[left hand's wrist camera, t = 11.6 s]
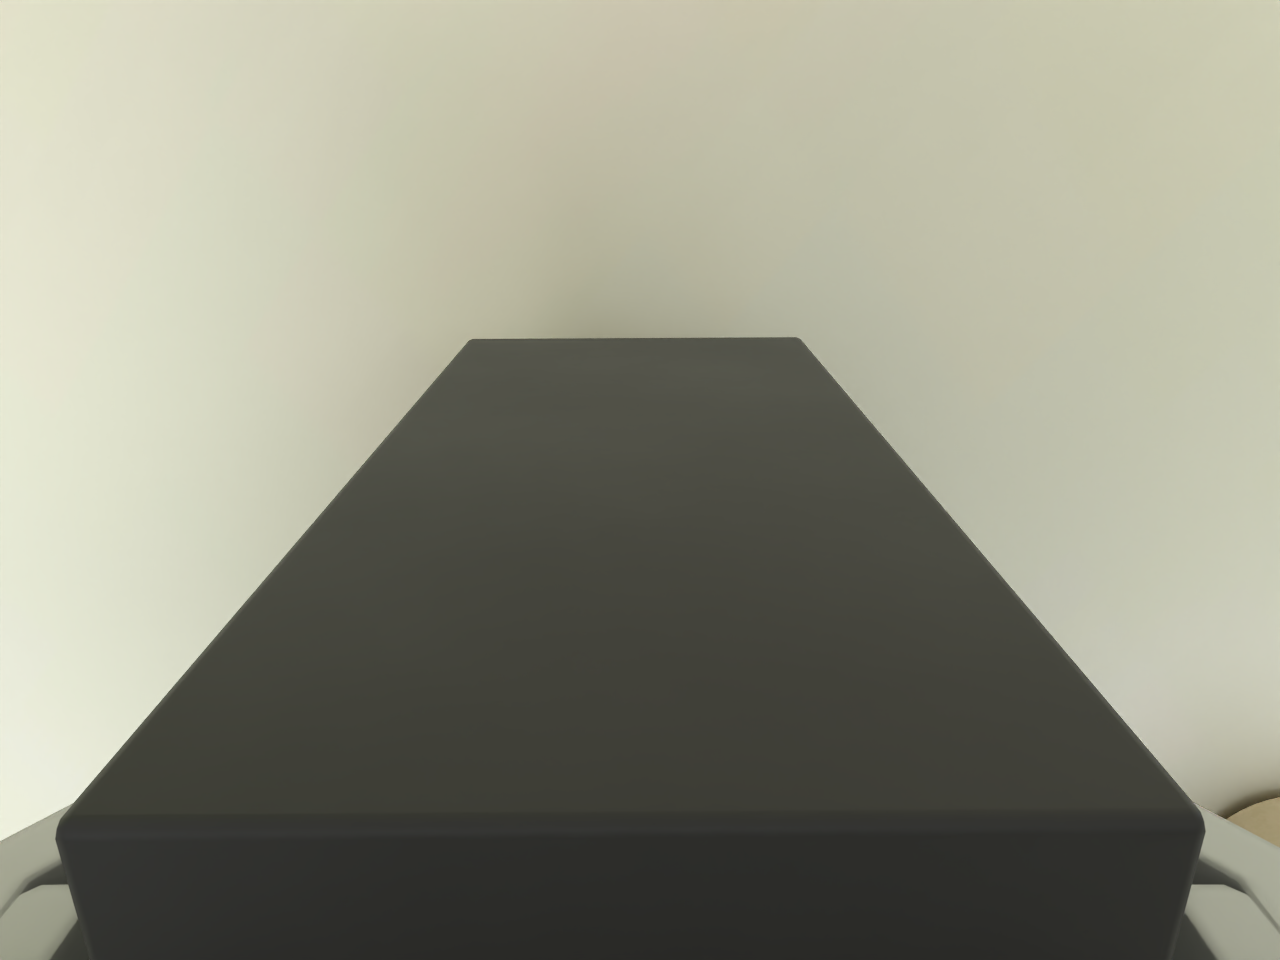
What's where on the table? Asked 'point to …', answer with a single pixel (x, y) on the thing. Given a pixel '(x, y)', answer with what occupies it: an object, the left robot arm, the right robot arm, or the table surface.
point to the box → (633, 704)
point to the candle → (1261, 820)
